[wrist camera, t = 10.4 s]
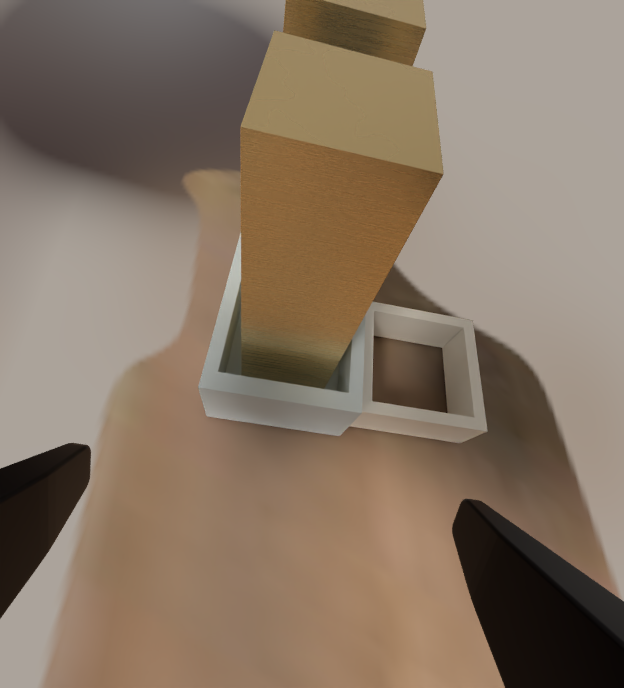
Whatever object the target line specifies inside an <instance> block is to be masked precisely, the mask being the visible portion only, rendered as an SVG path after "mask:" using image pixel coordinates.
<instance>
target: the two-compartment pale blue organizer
mask: <svg viewBox="0 0 624 688" xmlns="http://www.w3.org/2000/svg"><path fill="white" fill-rule="evenodd" d="M365 316H366V314H365ZM365 316H364V318H363V320H362V322H361V323H360V325H359V327H358V329H357V331H356V332H355V334H354V336H353V338H352V340H351V341H350V343H349V345H348V347H347V349H346V350H345V352H344V354H343V356H342V358H341V359H340V361H339V363H338V365H337V367H336V368H335V370H334V372H333V374H332V376H331V377H330V379H329V381H328V383H327V385H326V386H325V388H324V389H321V388H315V387H308V386H302V385H296V384H290V383H284V382H278V381H271V380H265V379H259V378H253V377H247V376H241V234H240V237H239V241H238V244H237V248H236V252H235V255H234V259H233V263H232V266H231V270H230V274H229V277H228V281H227V284H226V288H225V292H224V295H223V299H222V303H221V306H220V310H219V314H218V317H217V321H216V324H215V328H214V332H213V335H212V339H211V343H210V346H209V350H208V354H207V357H206V361H205V364H204V368H203V372H202V375H201V379H200V383H199V386H198V388H199V392H200V395H201V399H202V402H203V406H204V409H205V412H206V416H208V417H215V418H221V419H228V420H235V421H241V422H248V423H255V424H261V425H268V426H275V427H281V428H288V429H295V430H301V431H308V432H315V433H321V434H328V435H335V436H340V435H341V434H342V433H343V432H344V431H345V430H346V429H347V428H348V427H349V426H350V425H351V424H352V423H353V422H354V421H355V420H356V419H357V418H358V417H359V416H360V415H361V414H362V397H363V370H364V343H365Z"/></svg>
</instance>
